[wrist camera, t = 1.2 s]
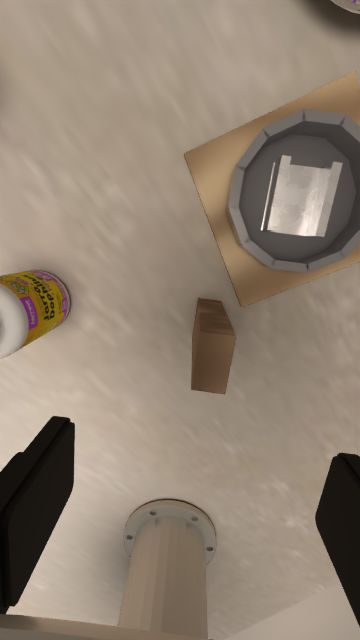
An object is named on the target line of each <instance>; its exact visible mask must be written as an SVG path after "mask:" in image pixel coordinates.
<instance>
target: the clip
mask: <svg viewBox="0 0 360 640" xmlns="http://www.w3.org/2000/svg"><path fill="white" fill-rule="evenodd" d="M290 161H291V156H284V155H282V156H281V157H280V158H279V159H278V160H277V161H275V162H274V163H273V168H272V174H271V179H270V184H269V189H268V194H267V200H266V205H265V210H264V215H263V221H262V226H261V230H262V231H269V232H277V233H285V234H292V235H300V236H308V237H324V236H325V232H326V228H327V224H328V220H329V216H330V212H331V208H332V204H333V200H334V196H335V192H336V188H337V184H338V180H339V176H340V172H341V168H342V164H343V163H340V162H332V163H330V164H328V165H326V166H325V167H323V168H315V167H307V166H299V165H291V164H290Z"/></svg>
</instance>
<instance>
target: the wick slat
mask: <svg viewBox="0 0 360 640" xmlns="http://www.w3.org/2000/svg"><path fill="white" fill-rule="evenodd" d="M235 340H236V335H235V333H234V330H233V328H232V326H231V323H230V321H229V319H228V316H227V314H226V312H225V309H224V307H223V305H222V302H221V301H216V300H208V299H201V298H198V302H197V309H196V316H195V323H194V330H193V337H192V379H191V390H197V391H204V392H212V393H219V394H225V393H226V388H227V382H228V377H229V372H230V366H231V361H232V356H233V350H234V345H235Z"/></svg>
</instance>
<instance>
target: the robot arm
mask: <svg viewBox="0 0 360 640" xmlns="http://www.w3.org/2000/svg"><path fill="white" fill-rule="evenodd" d="M74 441H75V424H74V423H72V422H70V418H66V417H58V416H53V417H52V418H51V419H50V420H49V421H48V422H47V424H46V425H45V426H44V427H43V429H42V430H41V431H40V432H39V434H38V435H37V436H36V437H35V438H34V440H33V441H32V442H31V443H30V445H29V446H28V447H27V448H26V450H25V451H24V452H19V453H17V454H16V455H15V456H14V457H13V458H12V459H11V460H10V461H9V463H8V464H7V465H6V466H5V467H4V468H3V470H2V471H1V472H0V640H212V639H208V630H207V600H206V570H205V565H207V564H208V563H209V561H210V560H211V559H212V557H213V555H214V553H215V550H216V534H215V529H214V527H213V525H212V523H211V521H210V520H209V518H208V517H207V516H206V515H205V514H204V513H203V512H202V511H200V510H199V509H197V508H195V507H194V506H192V505H189V504H187V503H184V502H179V501H174V500H162V501H155V502H151V503H148V504H146V505H144V506H142V507H140V508H139V509H137V510H136V511H135V512H134V513H133V514H132V515H131V516H130V518H129V520H128V521H127V524H126V528H125V532H124V545H125V548H126V551H127V553H128V554H129V556H130V557H131V560H130V565H129V570H128V575H127V580H126V585H125V590H124V595H123V600H122V605H121V610H120V615H119V620H118V625H117V627H115V626H108V625H100V624H93V623H85V622H77V621H68V620H59V619H50V618H41V617H32V616H23V615H7V614H6V612H7V610H8V608H9V606H15V605H16V604H17V603H18V601H19V599H20V597H21V595H22V593H23V591H24V589H25V587H26V585H27V583H28V581H29V579H30V577H31V574H32V572H33V570H34V568H35V566H36V564H37V562H38V560H39V558H40V556H41V554H42V552H43V550H44V548H45V546H46V544H47V542H48V540H49V538H50V536H51V534H52V531H53V529H54V527H55V525H56V523H57V521H58V519H59V517H60V515H61V513H62V511H63V509H64V507H65V505H66V503H67V501H68V499H69V497H70V495H71V492H72V489H73V484H74ZM315 520H316V525H317V528H318V531H319V533H320V535H321V538H322V540H323V542H324V545H325V547H326V549H327V552H328V554H329V556H330V559H331V561H332V563H333V566H334V568H335V570H336V573H337V575H338V577H339V580H340V582H341V584H342V587H343V589H344V591H345V593H346V596H347V598H348V601H349V603H350V605H351V608H352V610H353V612H354V614H355V617H356V619H357V622H358V624H359V626H360V457H359V456H358V455H355V454H347V453H339V454H338V455H337V456H335V457H333V459H332V462H331V465H330V469H329V472H328V475H327V479H326V482H325V485H324V489H323V492H322V495H321V498H320V502H319V505H318V508H317V512H316V516H315Z"/></svg>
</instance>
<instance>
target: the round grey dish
mask: <svg viewBox="0 0 360 640" xmlns="http://www.w3.org/2000/svg"><path fill="white" fill-rule="evenodd" d="M282 155H284V156H291V161H290V164H291V165H299V166H307V167H315V168H323V167H325V166H326V165H328V164H330V163H332V162H340V163H343V164H342V168H341V172H340V176H339V180H338V184H337V188H336V192H335V196H334V200H333V204H332V208H331V212H330V216H329V220H328V224H327V228H326V232H325V236H324V237H308V236H300V235H292V234H285V233H277V232H269V231H262V230H261V226H262V221H263V215H264V210H265V205H266V200H267V194H268V189H269V184H270V179H271V174H272V168H273V163H274V162H275V161H277V160H278V159H279V158H280V157H281V156H282ZM225 211H226V215H227V218H228V221H229V224H230V228H231V230H232V233H233V235H234V237H235V240H236V243H237V244H238V246H239V247H241V248H242V249H243V250H244V251H246V252H247V253H248V254H249V255H250V256H252V257H253V258H254V259H256V260H257V261H258V262H259V263H260V264H262V265H263V266H266V267H268V268H271V269H279V270H286V271H294V272H302V273H310V272H312V271H315V270H317V269H320V268H323V267H325V266H328V265H330V264H333V263H335V262H338V261H340V260H343V259H345V258H346V257H347V256H348V255H349V254H350V253H351V252H352V251H353V249H354V248H355V247H356V246H357V245H358V244H359V243H360V126H359V125H358V124H357V123H356V122H354V121H353V120H352V119H351V118H350V117H349V116H348V115H347V114H343V113H335V112H327V111H319V110H311V109H304V110H303V109H302V110H300V111H298V112H296V113H294V114H291V115H289V116H287V117H285V118H283V119H281V120H279V121H277V122H275V123H272V124H270V125H268V126H266V127H264V128H263V129H262V130H261V131H260V133H259V134H258V135H257V137H256V138H255V139H254V141H253V142H252V143H251V145H250V146H249V148H248V149H247V150H246V152H245V153H244V154H243V156H242V157H241V158H240V160H239V161H238V163H237V164H236V165H235V167H234V169H233V171H232V173H231V178H230V184H229V189H228V194H227V203H226V209H225Z"/></svg>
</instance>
